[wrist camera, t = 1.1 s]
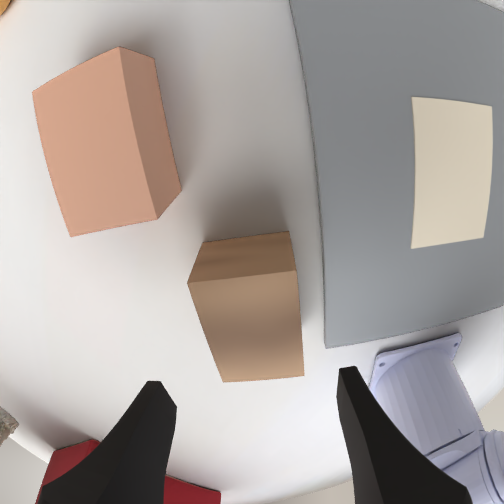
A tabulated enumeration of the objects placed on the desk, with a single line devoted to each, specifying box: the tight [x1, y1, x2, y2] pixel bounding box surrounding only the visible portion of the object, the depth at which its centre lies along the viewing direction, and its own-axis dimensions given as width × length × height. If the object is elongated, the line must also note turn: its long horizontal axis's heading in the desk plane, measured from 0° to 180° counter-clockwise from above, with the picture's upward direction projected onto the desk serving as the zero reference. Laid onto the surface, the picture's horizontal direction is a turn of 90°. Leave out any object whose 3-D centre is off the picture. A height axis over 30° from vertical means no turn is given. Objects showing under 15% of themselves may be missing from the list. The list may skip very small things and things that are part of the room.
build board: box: [289, 0, 504, 349], centre depth 13 cm, size 22×16×1 cm
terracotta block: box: [32, 47, 182, 237], centre depth 11 cm, size 7×5×4 cm, turn 9°
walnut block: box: [187, 231, 304, 382], centre depth 15 cm, size 7×5×4 cm, turn 9°
